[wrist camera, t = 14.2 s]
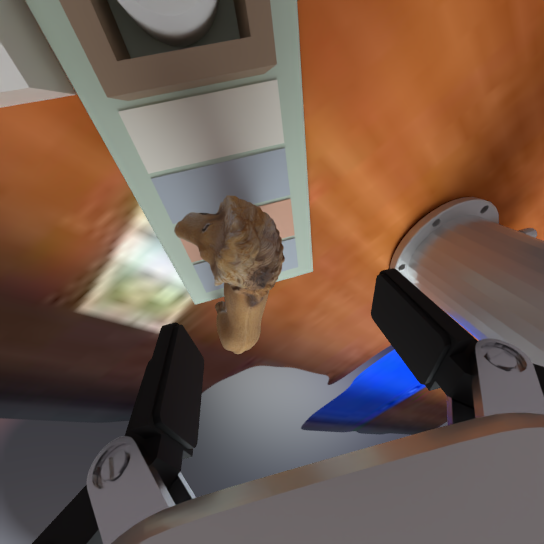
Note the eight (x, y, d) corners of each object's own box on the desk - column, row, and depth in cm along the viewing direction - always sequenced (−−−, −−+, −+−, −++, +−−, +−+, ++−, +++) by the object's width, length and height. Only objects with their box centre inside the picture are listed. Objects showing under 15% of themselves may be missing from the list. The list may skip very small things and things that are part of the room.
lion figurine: (182, 171, 14) (154, 229, 7) (263, 166, 15) (311, 214, 8) (218, 322, 23) (221, 417, 16) (267, 313, 24) (292, 399, 17)
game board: (270, -251, 8) (313, -509, 5) (308, 264, 23) (325, 290, 19) (-85, -225, 7) (-350, -531, 4) (195, 296, 22) (193, 329, 18)
